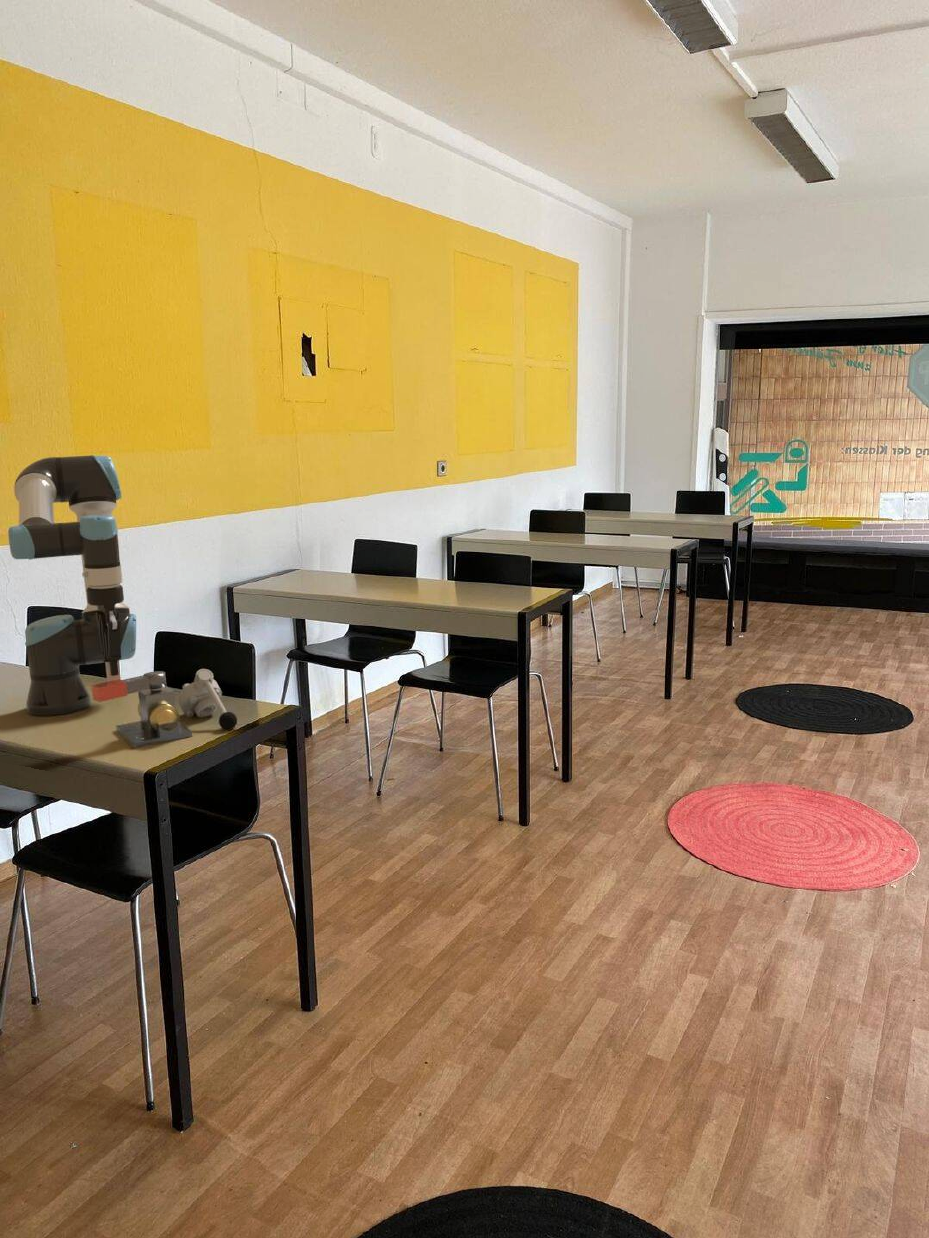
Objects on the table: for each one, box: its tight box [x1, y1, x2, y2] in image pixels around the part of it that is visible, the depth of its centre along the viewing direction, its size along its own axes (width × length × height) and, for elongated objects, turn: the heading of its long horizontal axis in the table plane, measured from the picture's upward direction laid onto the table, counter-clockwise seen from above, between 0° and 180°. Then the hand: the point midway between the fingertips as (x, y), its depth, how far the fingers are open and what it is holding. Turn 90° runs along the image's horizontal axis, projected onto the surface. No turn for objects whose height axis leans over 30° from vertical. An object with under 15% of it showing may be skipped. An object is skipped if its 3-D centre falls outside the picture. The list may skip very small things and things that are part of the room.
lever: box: [91, 670, 167, 703], centre depth 212 cm, size 5×16×3 cm, turn 135°
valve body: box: [115, 685, 193, 749], centre depth 216 cm, size 16×13×11 cm
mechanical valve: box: [176, 668, 238, 731], centre depth 225 cm, size 10×18×15 cm
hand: (114, 688), depth 212 cm, fingers closed
